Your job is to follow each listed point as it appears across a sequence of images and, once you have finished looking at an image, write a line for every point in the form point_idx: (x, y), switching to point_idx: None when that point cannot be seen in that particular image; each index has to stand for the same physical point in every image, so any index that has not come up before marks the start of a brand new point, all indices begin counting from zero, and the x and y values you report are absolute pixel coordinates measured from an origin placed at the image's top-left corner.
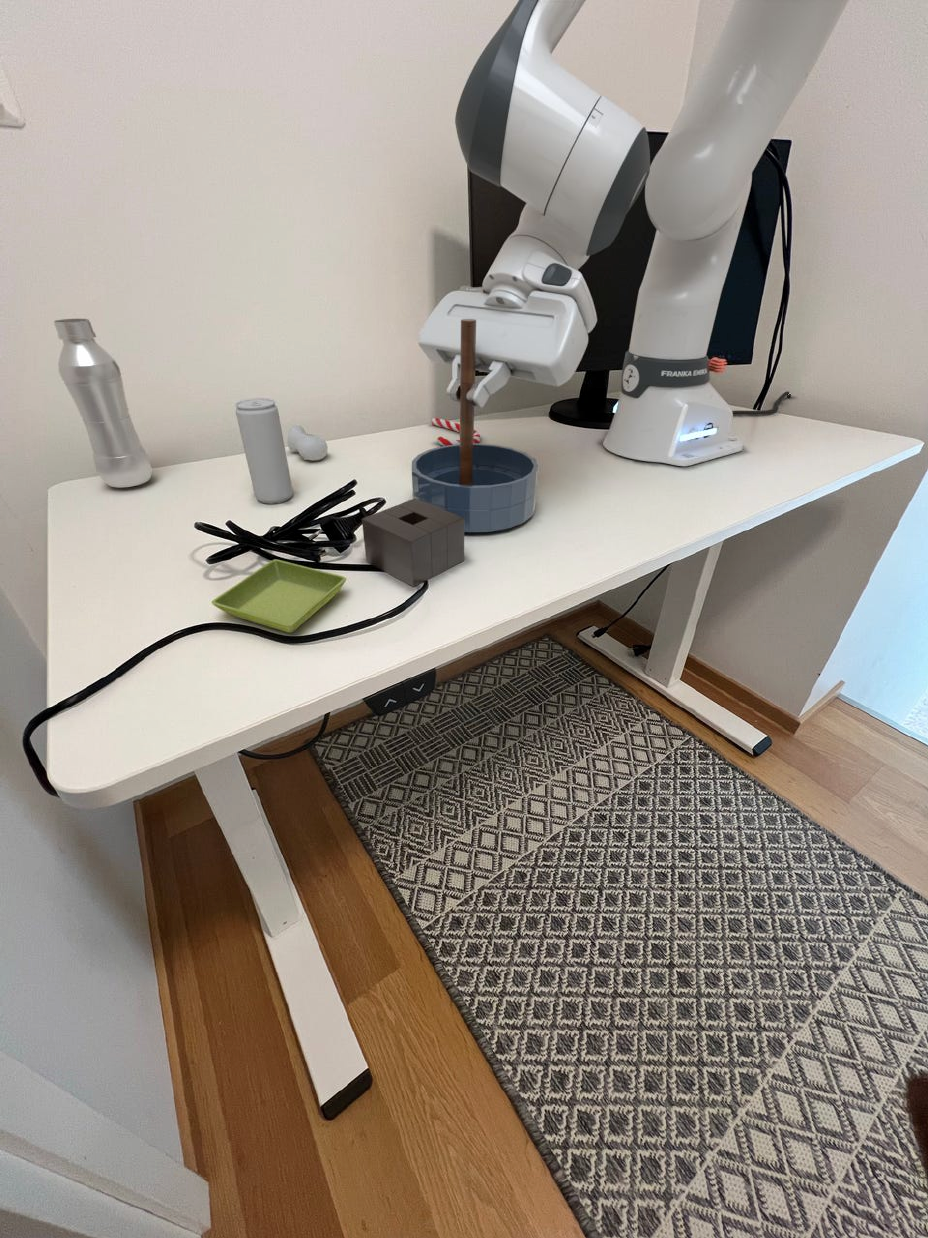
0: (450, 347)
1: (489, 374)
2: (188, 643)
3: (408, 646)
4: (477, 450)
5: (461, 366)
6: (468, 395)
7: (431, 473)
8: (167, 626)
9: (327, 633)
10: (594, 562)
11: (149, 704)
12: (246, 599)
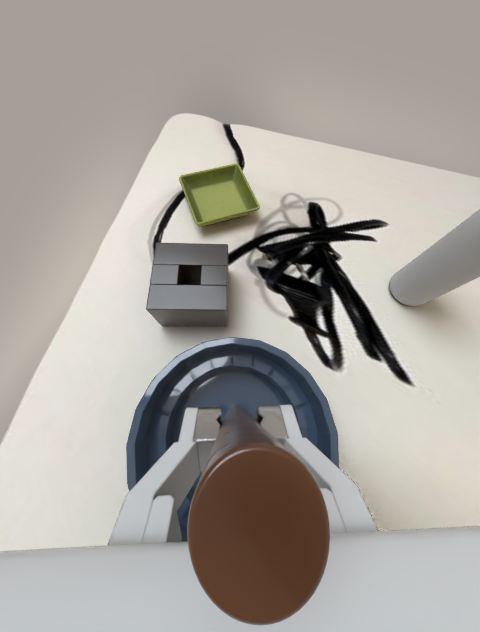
0: (424, 530)
1: (162, 475)
2: (229, 162)
3: (123, 224)
4: None
5: (249, 418)
6: (213, 407)
7: (310, 420)
8: (253, 162)
9: (175, 205)
10: (41, 418)
11: (197, 138)
12: (238, 187)
